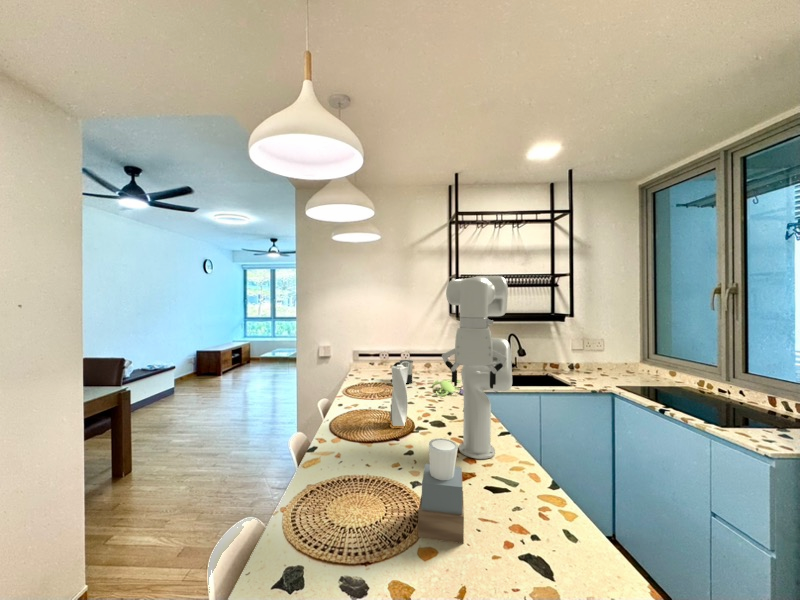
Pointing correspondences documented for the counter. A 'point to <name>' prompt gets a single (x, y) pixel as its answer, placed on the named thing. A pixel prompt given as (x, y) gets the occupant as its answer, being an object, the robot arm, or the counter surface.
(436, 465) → the shot glass
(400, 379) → the skyscraper
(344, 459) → the counter surface
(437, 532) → the walnut base block
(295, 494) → the counter surface
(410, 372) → the milk frother
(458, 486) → the slate top block
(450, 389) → the figurine
